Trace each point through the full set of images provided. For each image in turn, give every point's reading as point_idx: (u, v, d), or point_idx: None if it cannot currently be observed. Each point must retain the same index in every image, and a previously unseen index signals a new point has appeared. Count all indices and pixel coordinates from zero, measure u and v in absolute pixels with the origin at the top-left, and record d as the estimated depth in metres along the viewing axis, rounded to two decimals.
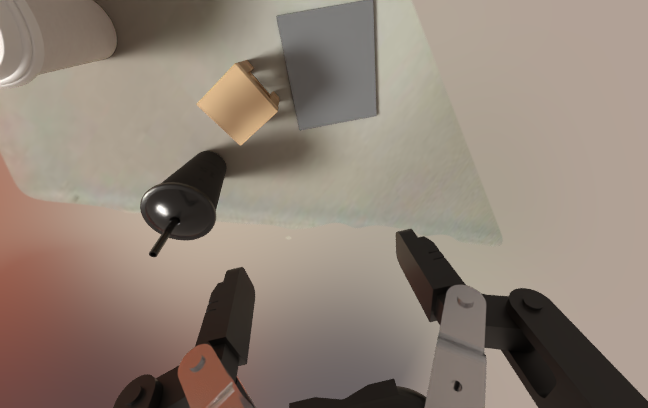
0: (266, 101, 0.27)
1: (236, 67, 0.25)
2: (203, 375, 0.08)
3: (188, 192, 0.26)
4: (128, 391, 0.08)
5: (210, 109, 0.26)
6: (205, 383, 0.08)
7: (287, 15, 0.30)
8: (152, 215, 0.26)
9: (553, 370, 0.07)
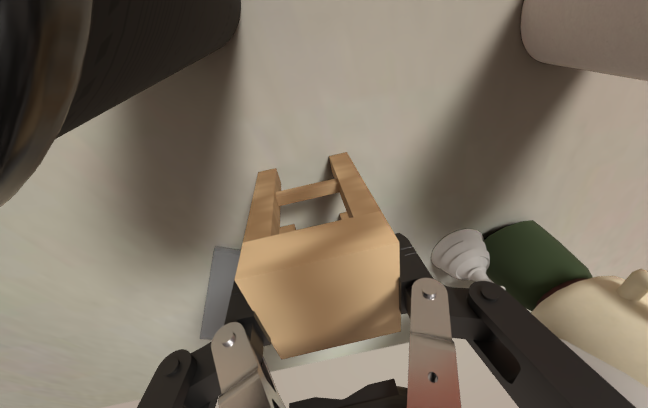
0: (311, 350, 0.12)
1: (394, 331, 0.12)
2: (232, 352, 0.08)
3: None
4: (168, 363, 0.08)
5: (366, 263, 0.09)
6: (239, 356, 0.08)
7: None
8: None
9: (516, 356, 0.07)
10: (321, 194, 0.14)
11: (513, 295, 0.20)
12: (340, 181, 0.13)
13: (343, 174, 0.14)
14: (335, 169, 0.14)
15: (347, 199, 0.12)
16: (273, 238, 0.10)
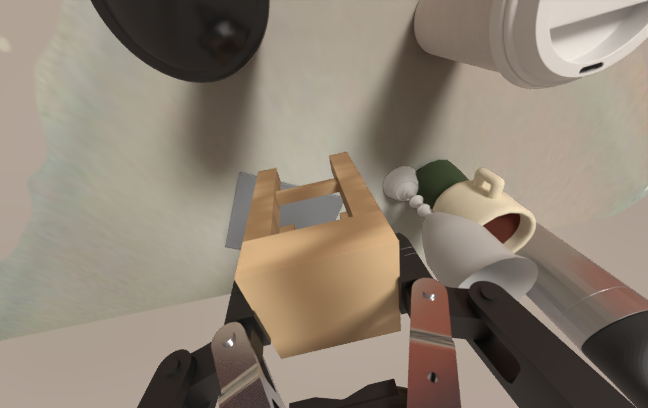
0: (310, 349, 0.12)
1: (394, 330, 0.12)
2: (232, 352, 0.08)
3: (230, 62, 0.12)
4: (168, 363, 0.08)
5: (366, 262, 0.09)
6: (239, 356, 0.08)
7: (340, 206, 0.34)
8: None
9: (516, 356, 0.07)
10: (321, 194, 0.14)
11: (430, 204, 0.31)
12: (340, 181, 0.13)
13: (343, 173, 0.14)
14: (335, 169, 0.14)
15: (347, 198, 0.12)
16: (273, 237, 0.10)
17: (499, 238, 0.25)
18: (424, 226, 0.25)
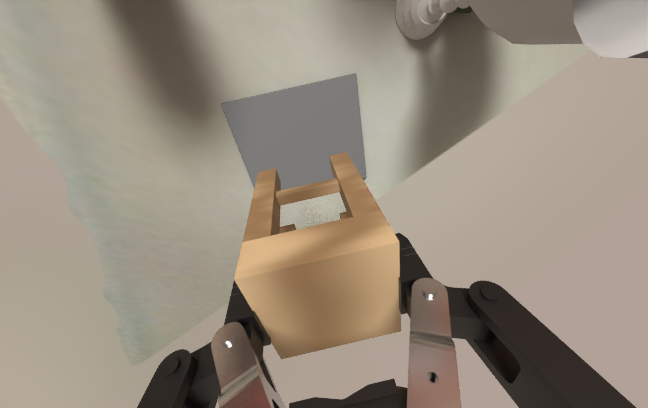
0: (310, 350, 0.12)
1: (394, 331, 0.12)
2: (232, 352, 0.08)
3: None
4: (168, 363, 0.08)
5: (366, 262, 0.09)
6: (239, 356, 0.08)
7: (356, 88, 0.25)
8: None
9: (516, 356, 0.07)
10: (321, 194, 0.14)
11: None
12: (340, 181, 0.13)
13: (343, 174, 0.14)
14: (335, 169, 0.14)
15: (347, 199, 0.12)
16: (273, 238, 0.10)
17: None
18: None
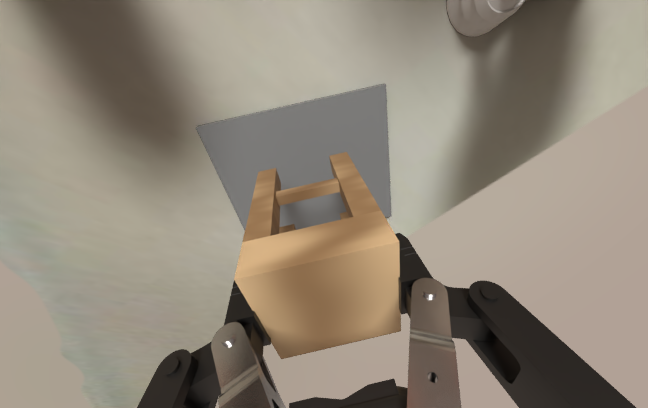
0: (310, 350, 0.12)
1: (394, 331, 0.12)
2: (232, 352, 0.08)
3: None
4: (168, 363, 0.08)
5: (366, 262, 0.09)
6: (239, 356, 0.08)
7: (384, 104, 0.18)
8: None
9: (516, 356, 0.07)
10: (321, 194, 0.14)
11: None
12: (340, 181, 0.13)
13: (343, 173, 0.14)
14: (335, 169, 0.14)
15: (347, 199, 0.12)
16: (273, 238, 0.10)
17: None
18: None
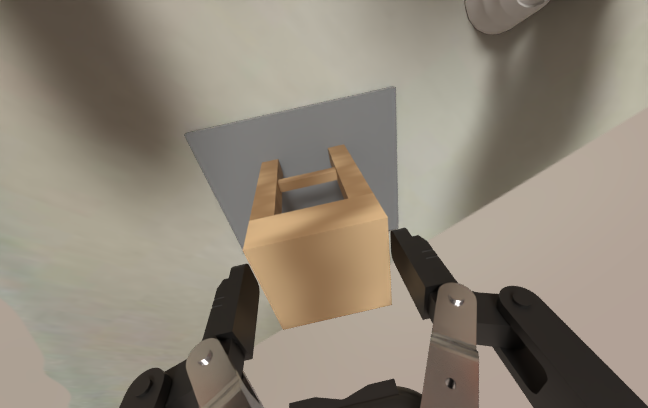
0: (310, 321, 0.13)
1: (385, 304, 0.13)
2: (210, 369, 0.08)
3: None
4: (138, 384, 0.08)
5: (359, 236, 0.10)
6: (213, 376, 0.08)
7: (393, 109, 0.17)
8: None
9: (544, 366, 0.07)
10: (320, 181, 0.15)
11: None
12: (337, 169, 0.14)
13: (340, 163, 0.15)
14: (333, 159, 0.16)
15: (343, 184, 0.13)
16: (276, 217, 0.11)
17: None
18: None
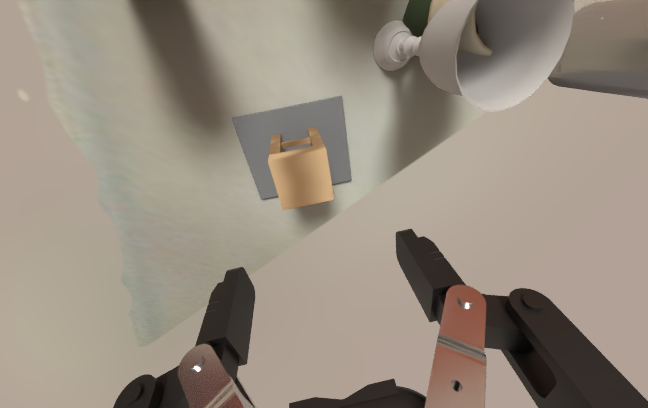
0: (295, 206, 0.28)
1: (331, 199, 0.28)
2: (203, 375, 0.08)
3: None
4: (129, 392, 0.08)
5: (315, 159, 0.25)
6: (205, 383, 0.08)
7: (342, 107, 0.31)
8: None
9: (553, 370, 0.07)
10: (302, 143, 0.30)
11: None
12: (310, 136, 0.29)
13: (312, 134, 0.30)
14: (309, 132, 0.30)
15: (311, 141, 0.27)
16: (281, 153, 0.26)
17: None
18: None
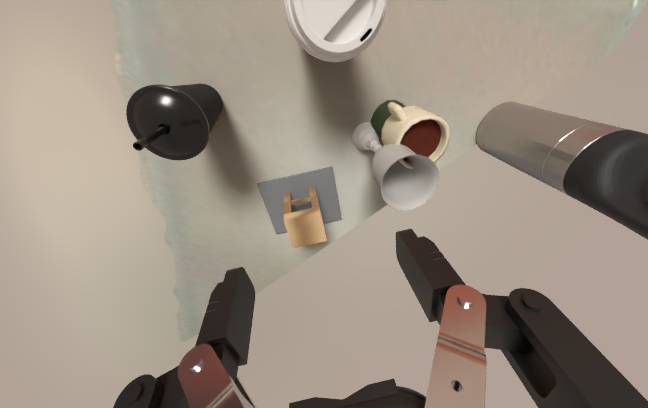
0: (301, 245, 0.42)
1: (325, 240, 0.42)
2: (203, 375, 0.08)
3: (202, 141, 0.26)
4: (128, 392, 0.08)
5: (313, 218, 0.39)
6: (205, 383, 0.08)
7: (332, 174, 0.45)
8: (163, 103, 0.23)
9: (553, 370, 0.07)
10: (305, 201, 0.44)
11: None
12: (310, 197, 0.43)
13: (312, 195, 0.44)
14: (310, 193, 0.44)
15: (311, 203, 0.42)
16: (291, 213, 0.40)
17: (432, 141, 0.32)
18: None
